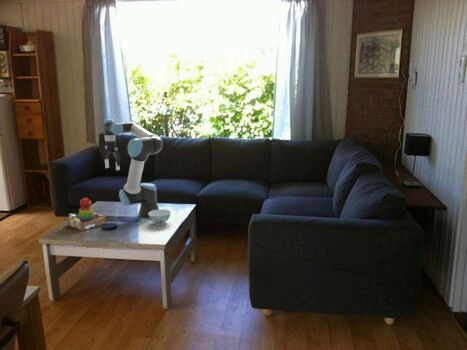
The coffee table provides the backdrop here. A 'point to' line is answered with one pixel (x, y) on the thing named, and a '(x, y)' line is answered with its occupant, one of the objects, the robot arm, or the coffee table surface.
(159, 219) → the chinaware
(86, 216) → the stacking bear
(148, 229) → the coffee table surface
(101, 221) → the crate
